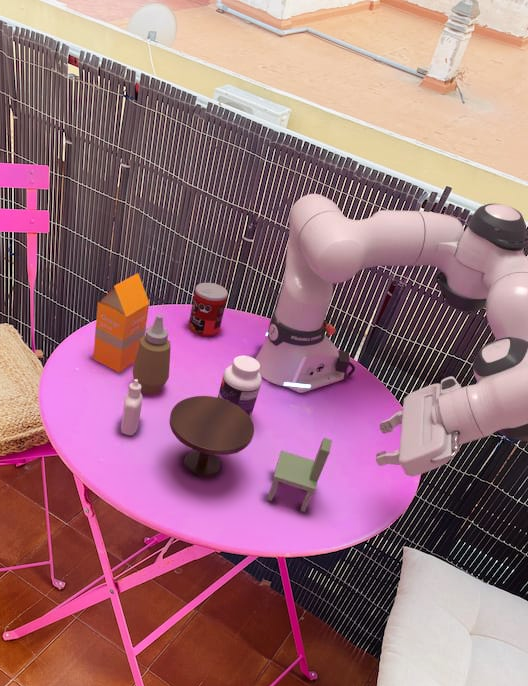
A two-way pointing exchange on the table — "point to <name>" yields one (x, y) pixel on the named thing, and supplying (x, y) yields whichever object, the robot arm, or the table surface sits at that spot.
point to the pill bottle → (241, 383)
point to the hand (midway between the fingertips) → (379, 443)
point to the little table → (210, 431)
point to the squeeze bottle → (153, 359)
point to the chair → (300, 471)
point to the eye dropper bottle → (132, 409)
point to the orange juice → (121, 324)
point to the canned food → (207, 309)
